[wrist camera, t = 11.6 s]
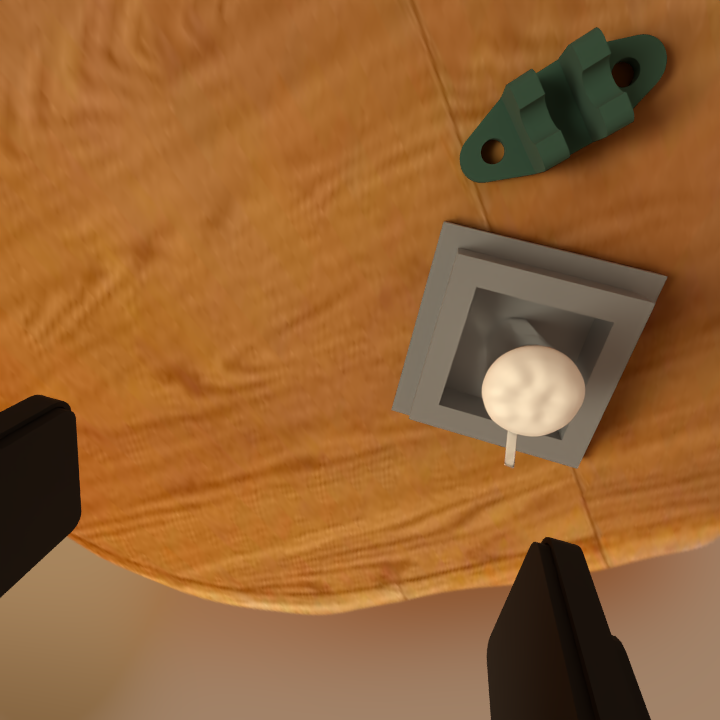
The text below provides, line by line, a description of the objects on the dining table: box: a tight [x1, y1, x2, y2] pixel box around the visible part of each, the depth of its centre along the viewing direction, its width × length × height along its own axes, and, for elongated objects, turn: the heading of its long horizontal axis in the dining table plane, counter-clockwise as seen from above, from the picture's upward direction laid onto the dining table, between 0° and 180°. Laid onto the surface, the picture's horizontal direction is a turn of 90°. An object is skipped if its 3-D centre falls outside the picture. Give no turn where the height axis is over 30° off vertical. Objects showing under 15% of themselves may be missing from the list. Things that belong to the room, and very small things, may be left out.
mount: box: [460, 27, 667, 183], centre depth 24 cm, size 11×4×5 cm, turn 120°
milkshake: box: [482, 318, 585, 468], centre depth 25 cm, size 4×5×10 cm
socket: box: [392, 221, 667, 468], centre depth 29 cm, size 13×13×4 cm
